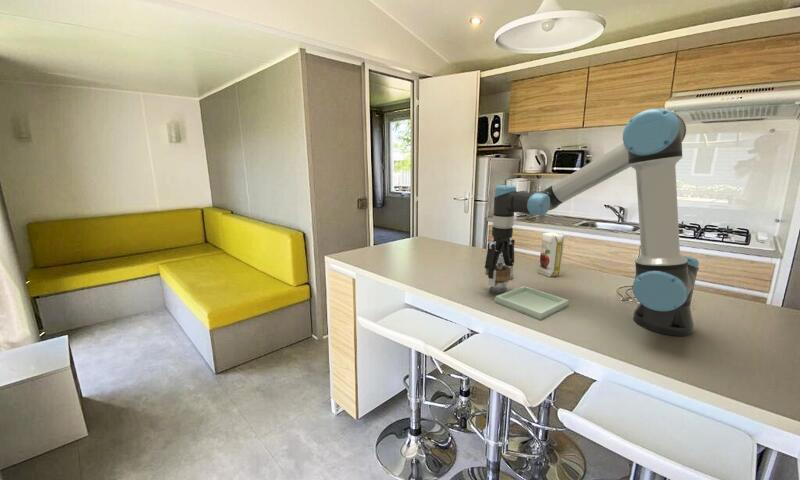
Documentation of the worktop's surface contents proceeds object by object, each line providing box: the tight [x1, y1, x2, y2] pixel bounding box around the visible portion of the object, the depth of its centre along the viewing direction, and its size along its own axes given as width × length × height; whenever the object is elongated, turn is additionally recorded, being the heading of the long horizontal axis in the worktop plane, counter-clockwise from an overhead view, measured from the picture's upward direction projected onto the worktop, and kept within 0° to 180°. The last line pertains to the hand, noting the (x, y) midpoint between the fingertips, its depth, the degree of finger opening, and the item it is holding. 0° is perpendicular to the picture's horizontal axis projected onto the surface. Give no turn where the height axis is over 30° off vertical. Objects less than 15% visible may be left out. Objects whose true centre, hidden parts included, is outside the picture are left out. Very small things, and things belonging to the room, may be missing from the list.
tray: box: [494, 285, 570, 321], centre depth 123 cm, size 18×18×2 cm
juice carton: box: [538, 231, 566, 278], centre depth 154 cm, size 8×9×19 cm
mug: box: [495, 250, 515, 280], centre depth 152 cm, size 8×12×12 cm, turn 39°
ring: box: [485, 264, 511, 282], centre depth 133 cm, size 10×8×4 cm
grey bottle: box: [489, 263, 508, 296], centre depth 133 cm, size 6×6×12 cm
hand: (498, 283), depth 134 cm, fingers closed on ring, 8 cm apart
